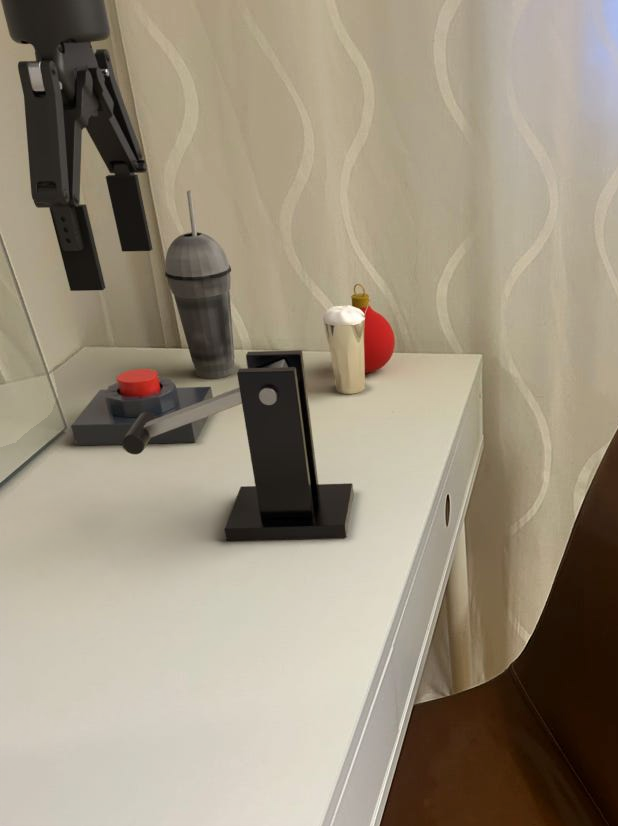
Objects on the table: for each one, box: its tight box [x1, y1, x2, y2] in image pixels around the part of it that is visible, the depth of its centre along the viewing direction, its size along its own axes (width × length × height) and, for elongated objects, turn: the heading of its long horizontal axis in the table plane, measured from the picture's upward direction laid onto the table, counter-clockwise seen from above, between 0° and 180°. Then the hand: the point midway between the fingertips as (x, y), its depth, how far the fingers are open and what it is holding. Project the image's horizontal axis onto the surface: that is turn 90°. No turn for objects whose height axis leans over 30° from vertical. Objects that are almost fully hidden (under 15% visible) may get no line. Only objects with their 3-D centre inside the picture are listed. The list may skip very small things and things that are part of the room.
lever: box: [121, 359, 288, 455], centre depth 78 cm, size 14×5×2 cm, turn 92°
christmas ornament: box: [350, 283, 396, 374], centre depth 112 cm, size 7×7×10 cm
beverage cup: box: [164, 190, 236, 380], centre depth 109 cm, size 7×7×20 cm
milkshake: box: [322, 299, 371, 395], centre depth 107 cm, size 4×5×10 cm
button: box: [116, 368, 161, 397], centre depth 99 cm, size 4×4×2 cm
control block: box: [70, 376, 214, 447], centre depth 101 cm, size 12×10×4 cm
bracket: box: [223, 349, 355, 542], centre depth 80 cm, size 10×8×14 cm
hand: (114, 269), depth 87 cm, fingers open, 13 cm apart
